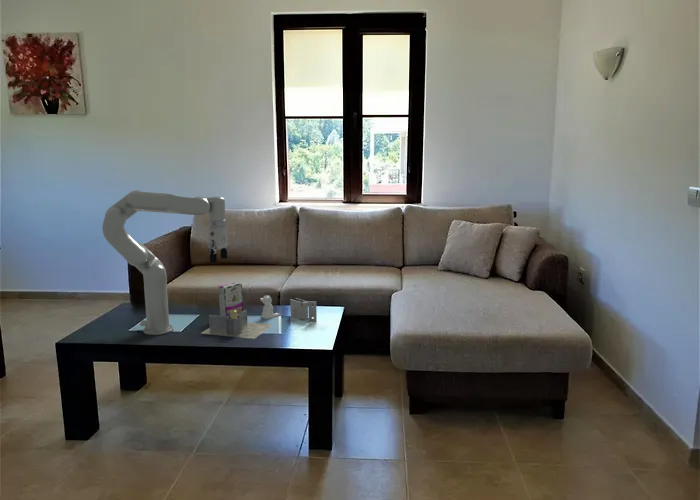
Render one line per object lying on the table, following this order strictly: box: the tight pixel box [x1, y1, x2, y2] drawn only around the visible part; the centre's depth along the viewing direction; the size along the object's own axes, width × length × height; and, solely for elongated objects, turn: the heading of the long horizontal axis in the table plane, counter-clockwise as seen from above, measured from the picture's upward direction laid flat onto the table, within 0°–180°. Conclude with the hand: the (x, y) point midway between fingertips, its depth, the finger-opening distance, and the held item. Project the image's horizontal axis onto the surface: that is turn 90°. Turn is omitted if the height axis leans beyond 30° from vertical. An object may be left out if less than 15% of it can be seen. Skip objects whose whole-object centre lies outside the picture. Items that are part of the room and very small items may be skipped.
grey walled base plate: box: [200, 309, 274, 340], centre depth 244 cm, size 26×20×8 cm
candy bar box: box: [217, 281, 244, 316], centre depth 265 cm, size 11×5×16 cm, turn 143°
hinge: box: [289, 297, 318, 324], centre depth 259 cm, size 14×5×10 cm, turn 59°
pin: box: [230, 310, 238, 319], centre depth 239 cm, size 3×3×10 cm
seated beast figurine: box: [259, 294, 282, 320], centre depth 262 cm, size 10×9×12 cm
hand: (218, 260), depth 252 cm, fingers open, 9 cm apart
